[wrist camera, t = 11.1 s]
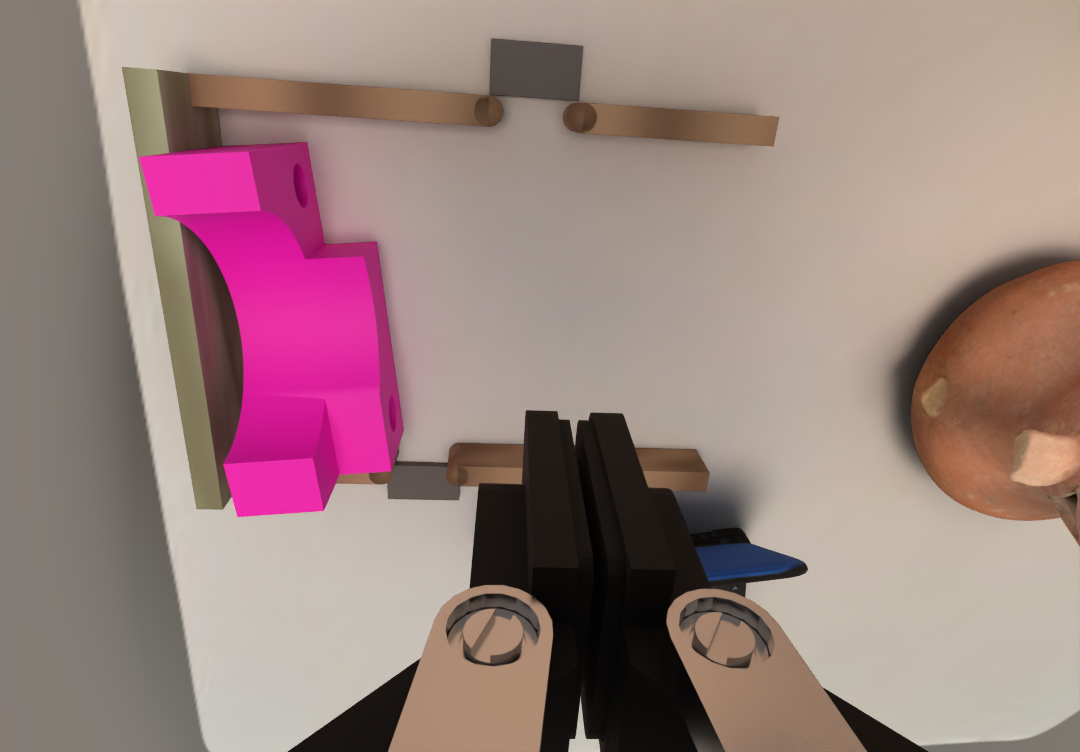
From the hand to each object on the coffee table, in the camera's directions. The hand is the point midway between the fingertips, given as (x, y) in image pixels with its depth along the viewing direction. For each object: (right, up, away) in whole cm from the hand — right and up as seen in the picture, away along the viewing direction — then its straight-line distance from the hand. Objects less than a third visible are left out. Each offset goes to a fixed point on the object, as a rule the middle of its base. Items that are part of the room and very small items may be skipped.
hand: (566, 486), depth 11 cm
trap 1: (-7, -4, +25) cm, 26 cm away
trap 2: (-1, +16, +17) cm, 23 cm away
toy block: (-11, +6, +21) cm, 25 cm away
